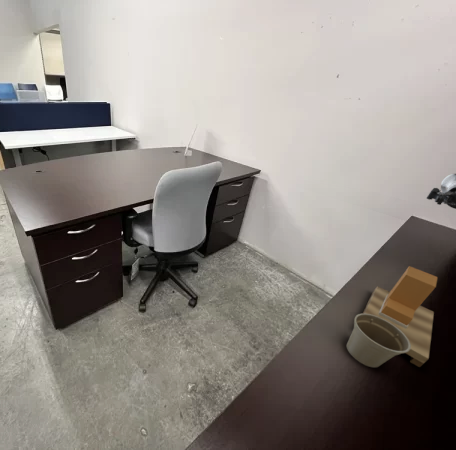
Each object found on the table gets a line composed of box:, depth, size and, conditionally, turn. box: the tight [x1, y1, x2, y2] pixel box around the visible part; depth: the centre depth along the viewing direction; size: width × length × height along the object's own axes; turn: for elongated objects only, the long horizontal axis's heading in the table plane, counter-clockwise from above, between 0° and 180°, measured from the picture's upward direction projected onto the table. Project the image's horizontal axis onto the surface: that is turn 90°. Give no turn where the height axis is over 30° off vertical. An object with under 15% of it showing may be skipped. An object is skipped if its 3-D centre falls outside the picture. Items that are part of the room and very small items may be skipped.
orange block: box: [379, 265, 438, 329], centre depth 60 cm, size 10×5×11 cm, turn 130°
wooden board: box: [362, 286, 435, 368], centre depth 62 cm, size 20×12×4 cm, turn 131°
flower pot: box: [346, 313, 411, 368], centre depth 53 cm, size 9×9×9 cm
